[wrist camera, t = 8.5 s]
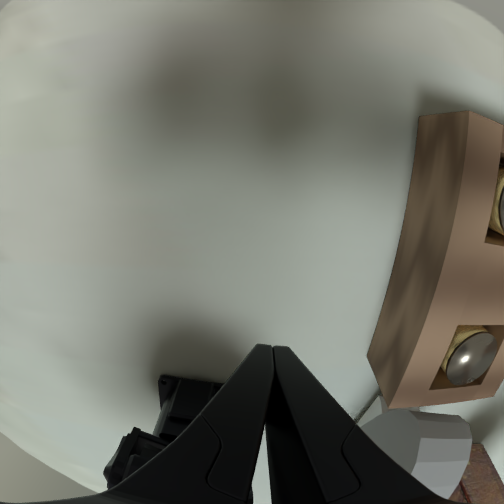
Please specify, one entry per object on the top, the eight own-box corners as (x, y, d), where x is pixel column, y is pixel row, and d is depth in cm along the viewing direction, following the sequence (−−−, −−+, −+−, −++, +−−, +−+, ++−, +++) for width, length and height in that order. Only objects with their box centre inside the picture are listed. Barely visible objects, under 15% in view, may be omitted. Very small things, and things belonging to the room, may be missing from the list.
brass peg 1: (447, 338, 22) (481, 382, 17) (407, 338, 22) (438, 387, 17) (464, 294, 21) (505, 333, 15) (423, 291, 21) (462, 333, 15)
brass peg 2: (484, 221, 19) (535, 246, 14) (443, 212, 19) (494, 237, 14) (494, 168, 18) (548, 180, 12) (453, 154, 18) (508, 162, 12)
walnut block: (462, 355, 23) (493, 396, 18) (366, 356, 23) (388, 408, 18) (518, 153, 18) (571, 162, 12) (418, 116, 18) (469, 110, 12)
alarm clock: (327, 500, 31) (335, 581, 19) (283, 496, 31) (284, 583, 19) (441, 376, 24) (501, 479, 12) (391, 365, 24) (447, 489, 12)
